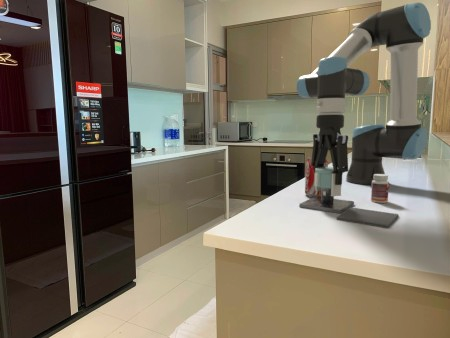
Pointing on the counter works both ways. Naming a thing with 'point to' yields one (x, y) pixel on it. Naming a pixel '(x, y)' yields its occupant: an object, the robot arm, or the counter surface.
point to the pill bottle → (380, 188)
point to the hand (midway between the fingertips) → (327, 192)
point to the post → (327, 202)
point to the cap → (323, 177)
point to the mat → (368, 217)
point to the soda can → (311, 179)
